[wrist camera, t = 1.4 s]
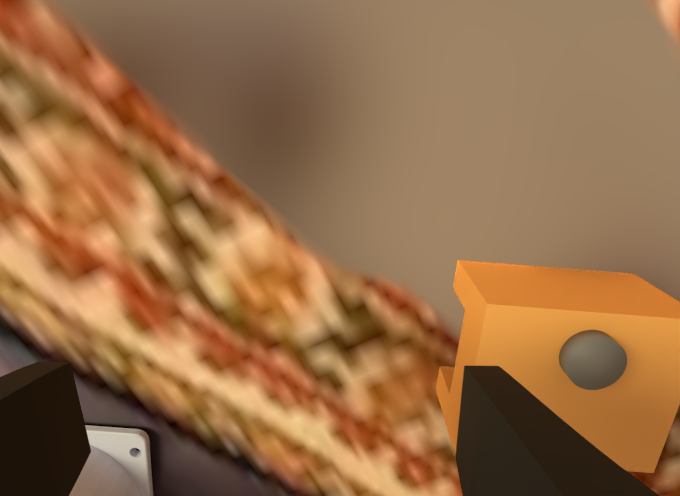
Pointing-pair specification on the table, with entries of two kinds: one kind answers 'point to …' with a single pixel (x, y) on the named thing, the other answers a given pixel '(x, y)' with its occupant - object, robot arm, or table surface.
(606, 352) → the lock block
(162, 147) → the table surface
